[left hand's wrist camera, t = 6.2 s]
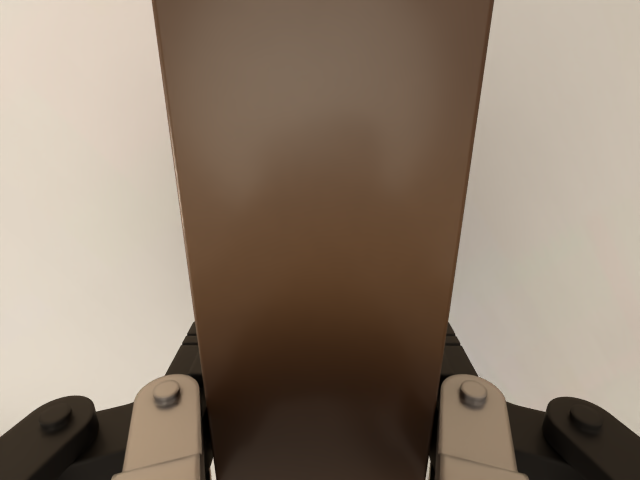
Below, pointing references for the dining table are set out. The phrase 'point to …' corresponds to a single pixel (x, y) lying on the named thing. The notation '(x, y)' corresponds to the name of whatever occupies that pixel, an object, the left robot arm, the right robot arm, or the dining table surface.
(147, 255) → the dining table surface
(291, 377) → the beam
